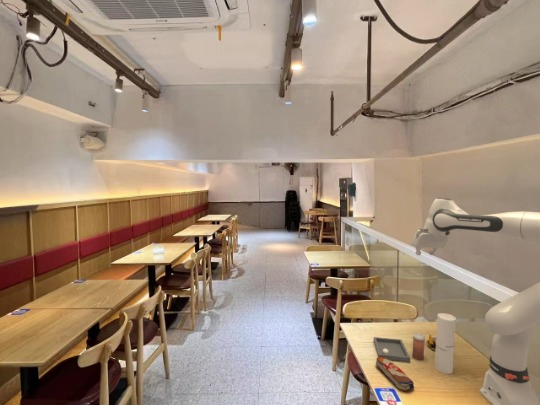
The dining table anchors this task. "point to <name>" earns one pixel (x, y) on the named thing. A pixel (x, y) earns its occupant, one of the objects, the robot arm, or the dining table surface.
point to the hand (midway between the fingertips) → (424, 254)
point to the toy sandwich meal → (431, 343)
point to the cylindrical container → (445, 343)
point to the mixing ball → (385, 351)
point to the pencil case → (395, 373)
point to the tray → (392, 349)
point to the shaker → (418, 346)
